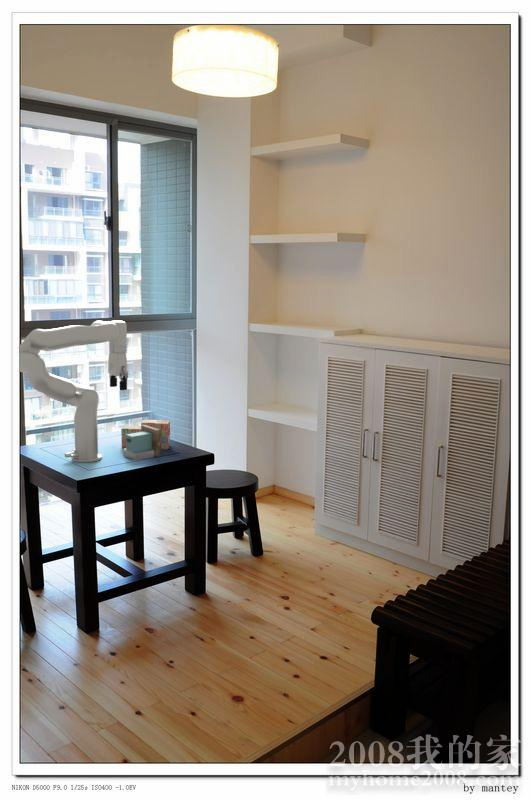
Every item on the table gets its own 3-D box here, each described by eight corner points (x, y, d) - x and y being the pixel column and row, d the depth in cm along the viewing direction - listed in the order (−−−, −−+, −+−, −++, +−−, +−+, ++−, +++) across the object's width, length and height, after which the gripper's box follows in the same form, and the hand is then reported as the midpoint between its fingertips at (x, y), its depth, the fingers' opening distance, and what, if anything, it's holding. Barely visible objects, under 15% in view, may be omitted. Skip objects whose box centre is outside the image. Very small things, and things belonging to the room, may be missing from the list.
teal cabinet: (130, 452, 321) (130, 437, 320) (124, 450, 324) (124, 434, 323) (151, 448, 328) (151, 433, 327) (145, 446, 332) (145, 431, 330)
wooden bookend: (137, 460, 320) (136, 433, 317) (122, 455, 328) (121, 428, 326) (160, 456, 327) (160, 429, 325) (145, 450, 336) (144, 424, 334)
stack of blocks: (121, 448, 340) (120, 422, 337) (124, 444, 346) (123, 418, 344) (168, 449, 339) (167, 423, 337) (170, 446, 345) (170, 420, 343)
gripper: (101, 347, 329) (102, 386, 332) (118, 352, 315) (119, 392, 318) (117, 346, 333) (117, 384, 336) (134, 351, 320) (135, 390, 323)
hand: (118, 388), depth 327 cm, fingers open, 9 cm apart
